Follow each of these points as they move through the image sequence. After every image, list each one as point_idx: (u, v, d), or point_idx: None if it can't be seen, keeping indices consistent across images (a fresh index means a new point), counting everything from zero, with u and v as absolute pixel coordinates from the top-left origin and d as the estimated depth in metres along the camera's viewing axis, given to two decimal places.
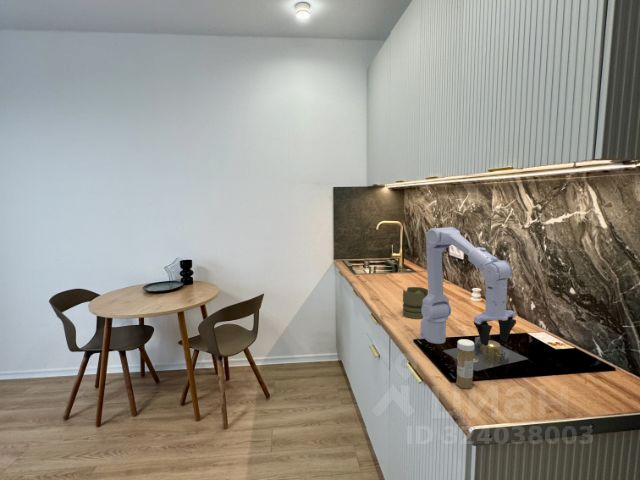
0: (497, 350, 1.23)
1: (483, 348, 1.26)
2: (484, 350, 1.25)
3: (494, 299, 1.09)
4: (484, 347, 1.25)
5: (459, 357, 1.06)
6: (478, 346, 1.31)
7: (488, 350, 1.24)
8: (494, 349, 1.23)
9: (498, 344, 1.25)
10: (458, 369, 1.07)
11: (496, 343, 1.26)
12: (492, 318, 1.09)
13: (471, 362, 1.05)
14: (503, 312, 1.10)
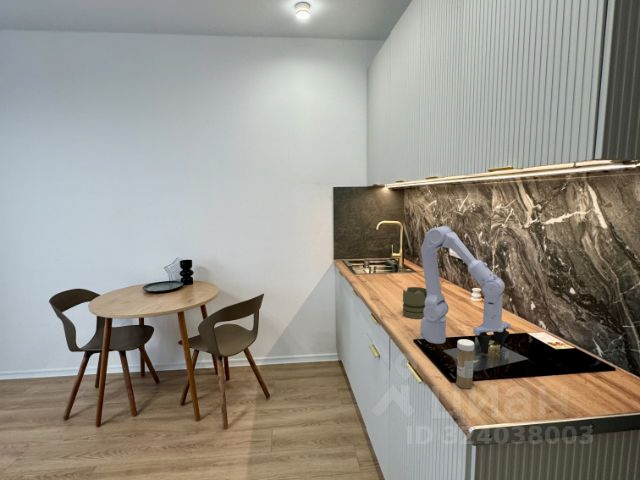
0: (497, 350, 1.23)
1: None
2: None
3: (495, 313, 1.22)
4: None
5: (459, 357, 1.06)
6: (478, 346, 1.31)
7: (488, 350, 1.24)
8: (494, 349, 1.23)
9: (498, 344, 1.25)
10: (458, 369, 1.07)
11: (496, 343, 1.26)
12: (489, 330, 1.22)
13: (471, 362, 1.05)
14: (499, 324, 1.22)
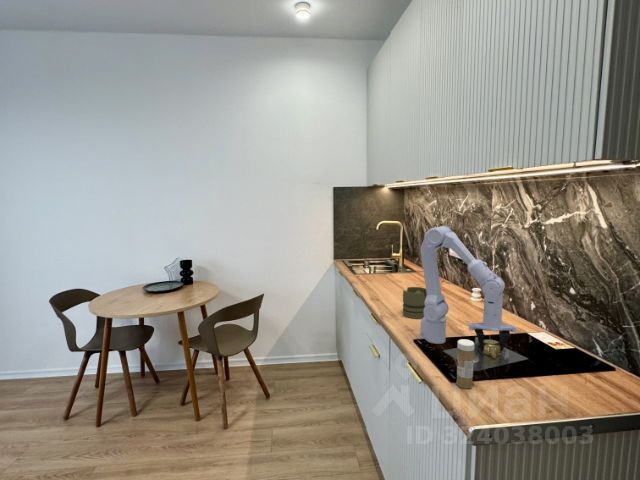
0: (493, 349, 1.23)
1: None
2: None
3: (495, 312, 1.21)
4: None
5: (459, 357, 1.06)
6: (478, 346, 1.31)
7: (484, 348, 1.25)
8: (489, 348, 1.24)
9: (497, 344, 1.24)
10: (458, 369, 1.07)
11: (496, 343, 1.25)
12: (483, 327, 1.24)
13: (471, 362, 1.05)
14: (495, 324, 1.22)
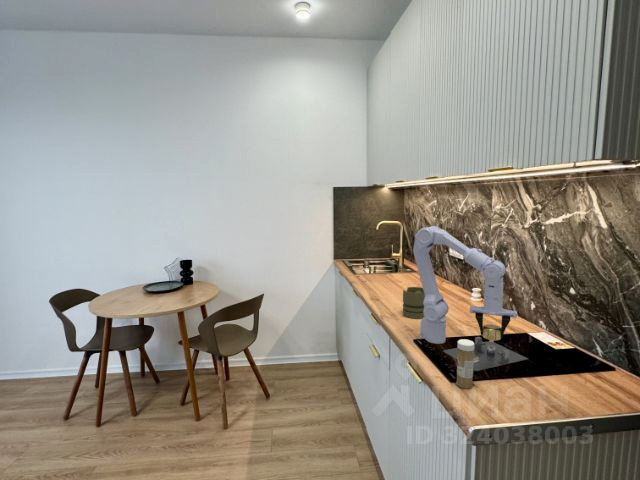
0: (491, 334, 1.23)
1: None
2: None
3: (496, 296, 1.21)
4: (483, 328, 1.27)
5: (459, 357, 1.06)
6: (478, 346, 1.31)
7: (483, 332, 1.25)
8: (487, 331, 1.23)
9: (497, 329, 1.23)
10: (458, 369, 1.07)
11: (497, 328, 1.24)
12: (482, 311, 1.24)
13: (471, 362, 1.05)
14: (493, 308, 1.21)
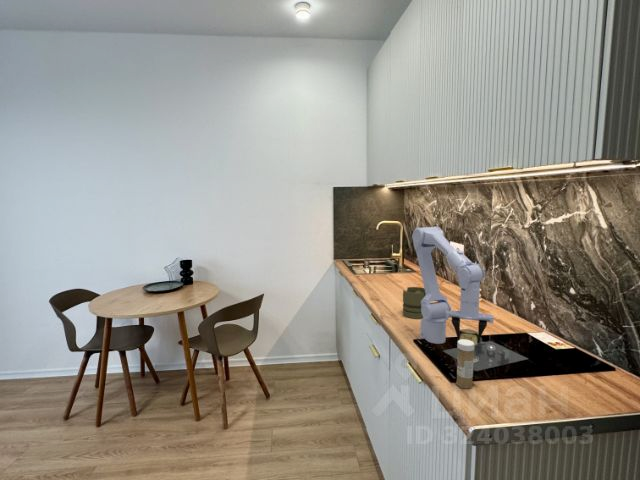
0: (467, 339, 1.19)
1: None
2: None
3: (467, 300, 1.18)
4: None
5: (459, 357, 1.06)
6: (478, 346, 1.31)
7: (460, 336, 1.22)
8: (464, 336, 1.20)
9: (473, 334, 1.20)
10: (458, 369, 1.07)
11: (473, 333, 1.20)
12: (458, 315, 1.20)
13: (471, 362, 1.05)
14: (469, 312, 1.18)
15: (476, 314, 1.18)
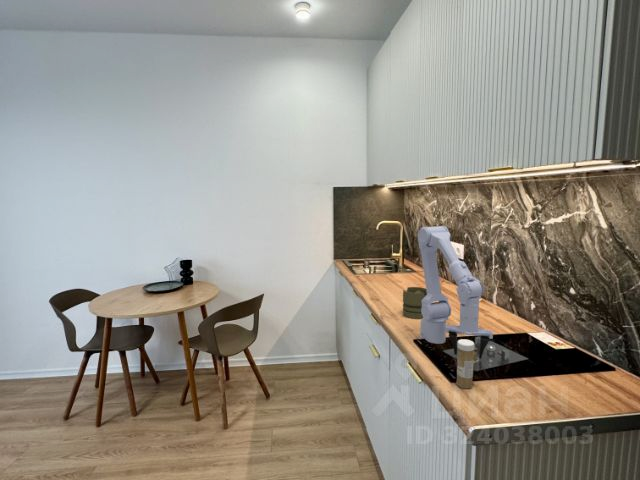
0: None
1: None
2: None
3: (466, 315, 1.19)
4: None
5: (459, 357, 1.06)
6: (478, 346, 1.31)
7: None
8: None
9: None
10: (458, 369, 1.07)
11: None
12: (458, 330, 1.21)
13: (471, 362, 1.05)
14: (469, 328, 1.19)
15: (475, 329, 1.19)
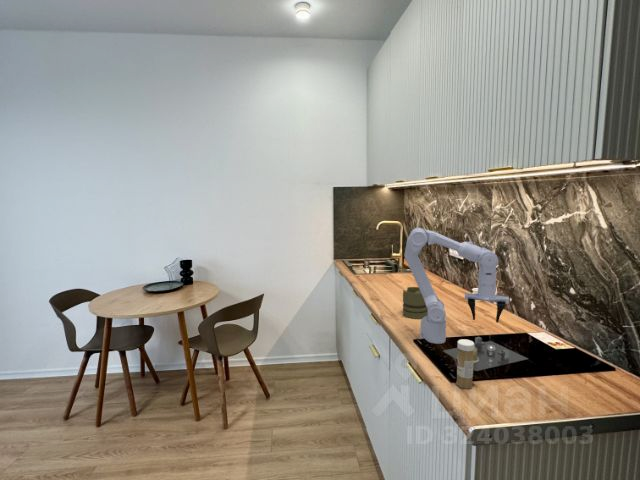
0: None
1: None
2: None
3: (492, 283, 1.28)
4: None
5: (459, 357, 1.06)
6: (478, 346, 1.31)
7: None
8: None
9: None
10: (458, 369, 1.07)
11: None
12: (476, 297, 1.31)
13: (471, 362, 1.05)
14: (487, 294, 1.29)
15: (493, 296, 1.29)
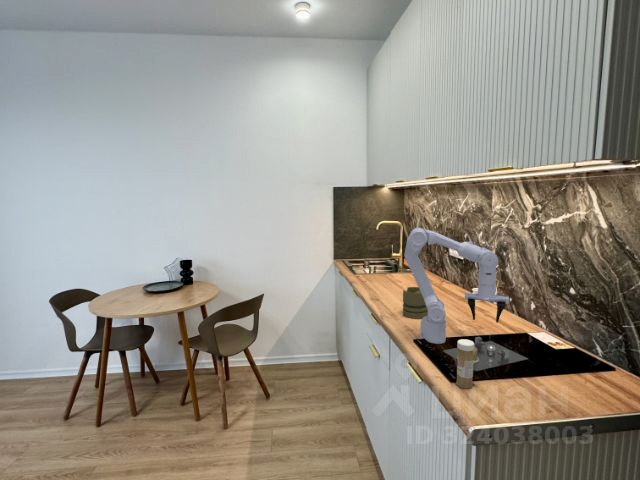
0: None
1: None
2: None
3: (492, 283, 1.28)
4: None
5: (459, 357, 1.06)
6: (478, 346, 1.31)
7: None
8: None
9: None
10: (458, 369, 1.07)
11: None
12: (476, 297, 1.31)
13: (471, 362, 1.05)
14: (487, 294, 1.29)
15: (493, 296, 1.29)
